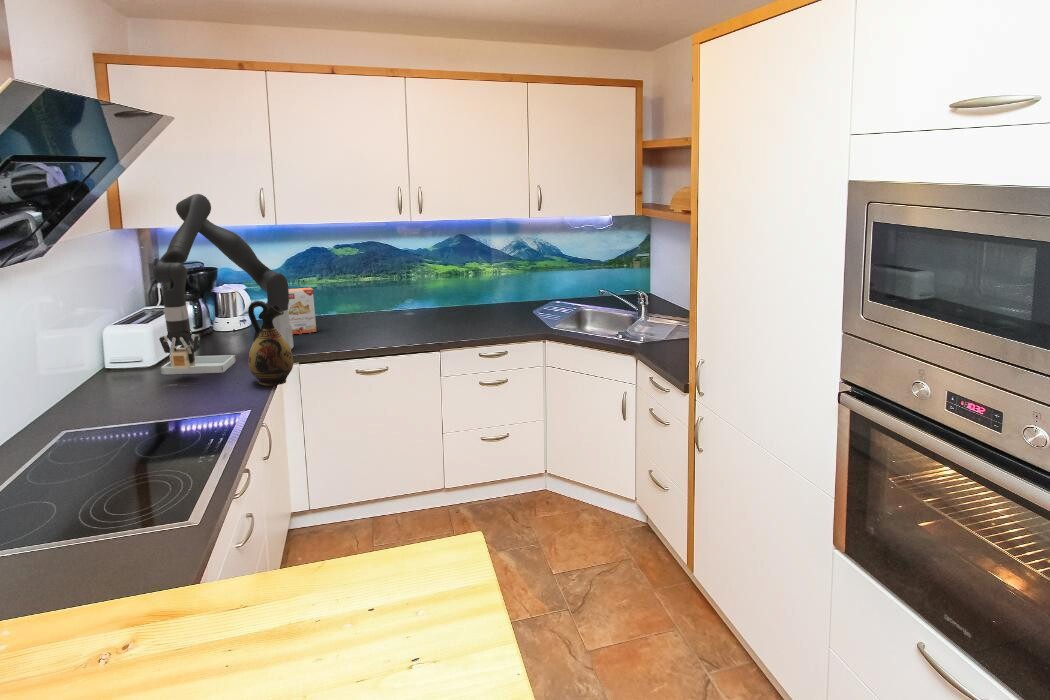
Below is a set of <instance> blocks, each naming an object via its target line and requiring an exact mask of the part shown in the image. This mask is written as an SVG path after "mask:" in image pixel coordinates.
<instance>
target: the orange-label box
mask: <svg viewBox="0 0 1050 700" xmlns="http://www.w3.org/2000/svg"><path fill="white" fill-rule="evenodd" d="M188 354H189V353H188V351H187V349H185V347H177V349H176V350H175V351H173V352H172V353H171V354H170V355H171V358H172V364H173V369H187V368H189V367H190V366H191V365H193V364H194V363H195V361H194V362H193V363H192V364H190V363H189V356H188Z"/></svg>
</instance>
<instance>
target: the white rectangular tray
mask: <svg viewBox="0 0 1050 700" xmlns="http://www.w3.org/2000/svg"><path fill="white" fill-rule="evenodd" d="M194 357H195V366H190V367H189V368H187V369H173V367H171V363H170V361H168V362H166V363H165V364H164V365H162V366H161V367H160V372H161V373H160V374H161V375H162V376H163V375H185V374H186V375H189V374H194V375H195V374H219V373H226V371H227V370H228V369H229V368H231V367H232V366H233V365H234V364H235V363H236V361H237V359H236V355H235V354H224V355H223V354H221V355H198V356H195V355H194Z"/></svg>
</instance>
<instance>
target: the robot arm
mask: <svg viewBox="0 0 1050 700" xmlns="http://www.w3.org/2000/svg"><path fill="white" fill-rule="evenodd" d="M175 210H176V213H177V215H178V217H179V218H180V219H181V220H182V221H183V223H182V224H181V225H180V227H178V229H177V231H176V232H175V233H174V234H173V236H172V238H171V240H170V243H169V244H168V247H167V249H166V252H164V254H163V255H162V256H161V257H160V258H159V259H158V261H157V262H156V263H155V265H154V267H153V277H154V279H155V280H156V281H157V282H158V283H163V284H165V283H167V284H168V283H173V287H172V288H168V289H164V290H162V291H163V292H162V299H163V307H164V308H163V309H164V319H165V324H166V331H167V333H166V335H162V336H160V337H159V338H158V340H159V342H160V345H161V346H162V350H163V352H164V353H165V354H170V355H171V353H172V352H173V351H175V350H176V349H178V347H179V346H182V347H183V348H185V349H187V351H188V353H189V354H188V356H189V363H190V364H192V363H193V362H194V361H195V357H194V356H195V353H196V352H197V351H199V349H200V343H201V335H200V334H193V333H192V332H191V326H190V325H191V324H190V318H189V312H188V307H187V302H186V296H185V295H186V294H185V292H186V284H187V277H188V270H187V268H186V266H185V263H186V262H187V260H188V258H189V255H190V252H191V250H192V247H193V244H194V243H195V240H196V238H197V236H198V234H201V236H203V237H204V238H205V239H207V241H208V242H209V243H211V244H212V245H214V246H215V248H217V249H218V250H219V251H220V252H221V253H222V254H223V255H224V256H225V257H227V258H228V259H229V260H230V261H231V262H232V263H233V264H235V265H236V266H237V267H238V268H240V269H241V270H243V271H244V272H245V273H246V274H248V275H249V277H250V278H251V279H252V280H253V281H254V282H255V284H257V285H258V287H259V288H260V289H261V290H263V291H264V292H265V293H266V296H267V297H266V298H267V300H266V302H265V303H266V304H267V306H268V308H270V307H271V306H272V307H273V306H274V305H277V306H279V307H280V308H281V310H282V311H283V312H284V314H283V315H280V316H278V317H276V318H274V319H273V326H274V327H275V328H276V330H277V331H278V332H279V333H280V334H281V335H282V337H283V338H284V339H285V341H286V342H287V344H288V346H289V347H290V350H291V351H292V349H293V348H294V338H293V336H294V335H292V326H290V321H289V311H288V304H289V289H290V288H289V284H288V279H287V277H286V276H285V275H284V274H283V273H281V272H277V271H274V270H273V269H270V268H269V267H268V266H267V265H265V264H264V263H263V262H262V261H261V260H260V259H259V258H258V257H257V255H256V253H255V252H254V250H253V249H252V247H251V246H250V245H249V244H248V243H247V242H246V240H244V239H243V238H242V237H241V236H240V235H239V234H237V233H235V232H234V231H232V230H229V229H227V228H225V227H221V226H219V225H217V224H214V223H213V222H211V221H210V220H209V219H208V217H209V216H210V214H211V212H212V205H211V202H210V200H209V199H208V198H207V197H206V196H205V195H203V194H202V193H195V194H192V195H190V196H187V197H186V198H184V199H182V200H180V201H179V202H177V204H176V205H175ZM191 339H192V341H193V345H192V343H191ZM168 341H169V342H170V343H171V344H170V345H169V342H168ZM171 359H172V358H171Z"/></svg>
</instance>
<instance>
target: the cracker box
mask: <svg viewBox="0 0 1050 700" xmlns="http://www.w3.org/2000/svg"><path fill="white" fill-rule="evenodd" d="M288 289H289V304H288V311H289V321H290V326H292V336H294V335H293V334H299V335H303V334H302V333H309V334H312V333H311V332H317V323H316V310H315V300H314V299H315V298H314V289H313V288H312V287H300V288H288Z"/></svg>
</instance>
